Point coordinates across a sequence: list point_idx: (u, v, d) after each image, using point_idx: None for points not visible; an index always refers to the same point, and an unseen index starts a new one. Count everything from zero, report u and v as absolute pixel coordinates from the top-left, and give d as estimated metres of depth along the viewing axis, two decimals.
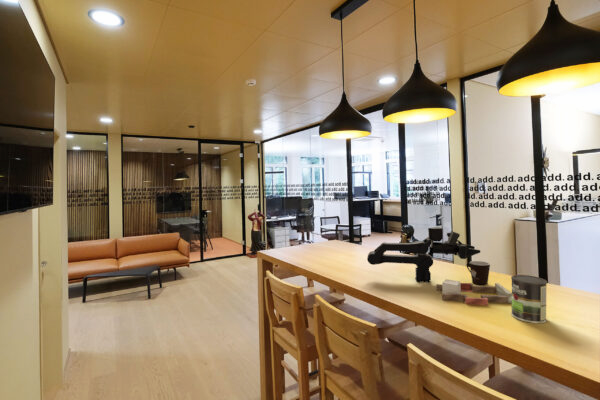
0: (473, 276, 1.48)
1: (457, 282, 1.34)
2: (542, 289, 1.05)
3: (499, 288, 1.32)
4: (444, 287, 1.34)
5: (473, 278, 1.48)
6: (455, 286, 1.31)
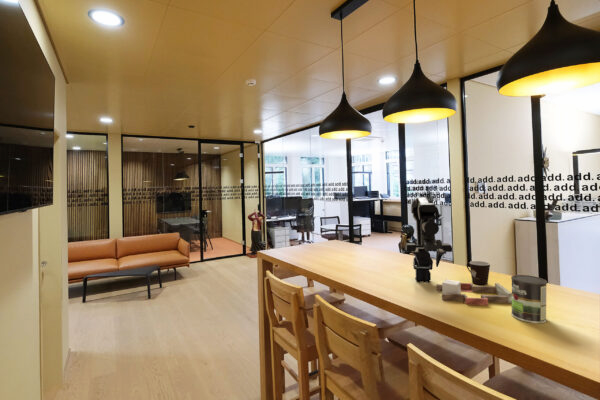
0: (473, 276, 1.48)
1: (457, 282, 1.34)
2: (542, 289, 1.05)
3: (499, 288, 1.32)
4: (444, 287, 1.34)
5: (473, 278, 1.48)
6: (455, 286, 1.31)
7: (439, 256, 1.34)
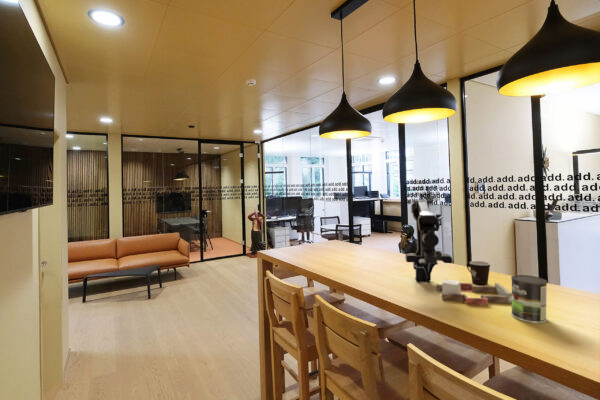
0: (473, 276, 1.48)
1: (457, 282, 1.34)
2: (542, 289, 1.05)
3: (499, 288, 1.32)
4: (444, 287, 1.34)
5: (473, 278, 1.48)
6: (455, 286, 1.31)
7: (431, 267, 1.35)
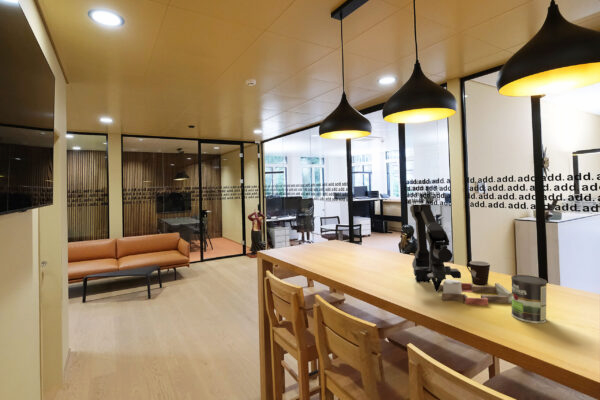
0: (473, 276, 1.48)
1: (458, 282, 1.34)
2: (542, 289, 1.05)
3: (499, 288, 1.32)
4: (445, 286, 1.34)
5: (473, 278, 1.48)
6: (456, 286, 1.31)
7: (439, 281, 1.34)
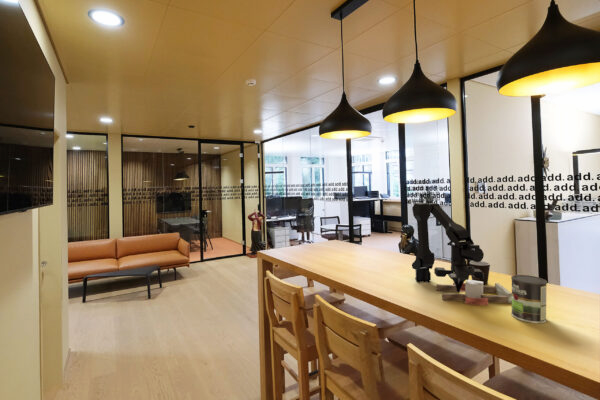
0: (473, 276, 1.48)
1: (480, 282, 1.32)
2: (542, 289, 1.05)
3: (499, 288, 1.32)
4: (468, 287, 1.32)
5: (473, 278, 1.48)
6: (479, 287, 1.29)
7: (461, 282, 1.32)
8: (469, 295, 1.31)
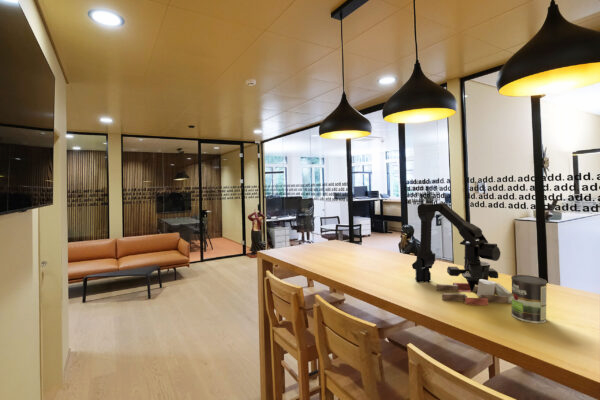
0: None
1: (493, 283, 1.31)
2: (542, 289, 1.05)
3: (499, 288, 1.32)
4: (480, 286, 1.31)
5: None
6: (492, 287, 1.28)
7: (474, 281, 1.31)
8: None
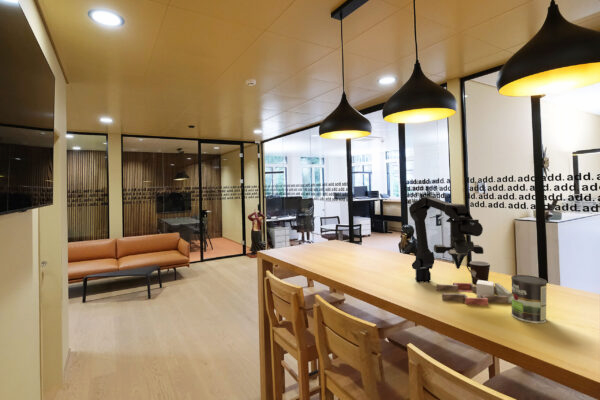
0: (473, 276, 1.48)
1: (491, 282, 1.32)
2: (542, 289, 1.05)
3: (499, 288, 1.32)
4: (479, 288, 1.31)
5: (473, 278, 1.48)
6: (490, 287, 1.29)
7: (461, 258, 1.32)
8: None
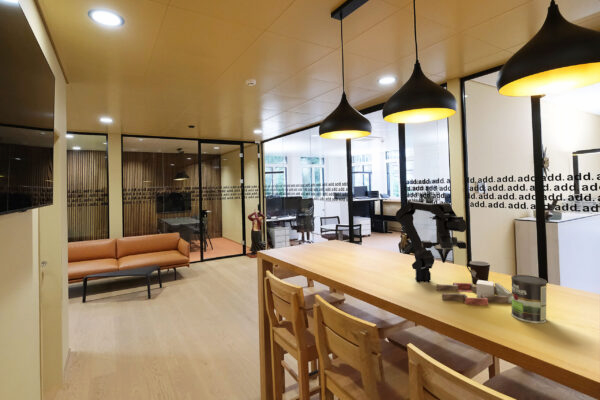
0: (473, 276, 1.48)
1: (491, 282, 1.32)
2: (542, 289, 1.05)
3: (499, 288, 1.32)
4: (479, 288, 1.31)
5: (473, 278, 1.48)
6: (490, 287, 1.29)
7: (446, 252, 1.42)
8: None
